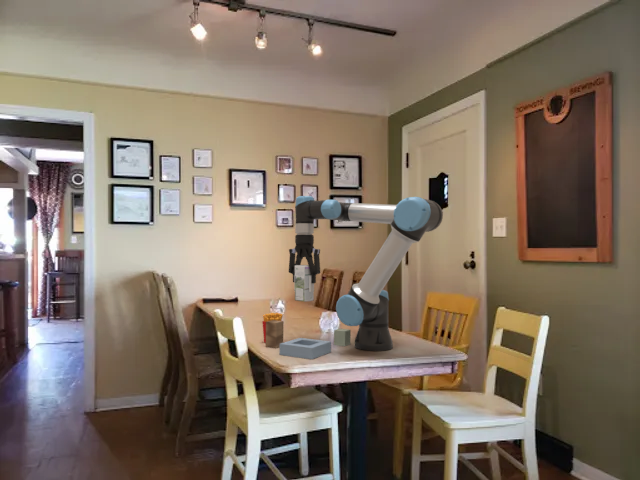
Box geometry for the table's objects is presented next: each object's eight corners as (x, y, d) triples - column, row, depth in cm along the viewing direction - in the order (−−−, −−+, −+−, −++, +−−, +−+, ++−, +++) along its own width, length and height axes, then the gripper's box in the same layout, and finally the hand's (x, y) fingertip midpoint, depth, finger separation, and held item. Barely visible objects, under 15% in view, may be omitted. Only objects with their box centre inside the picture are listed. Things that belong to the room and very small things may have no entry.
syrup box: (314, 300, 196) (314, 265, 196) (304, 301, 192) (304, 265, 192) (304, 299, 200) (304, 264, 200) (294, 300, 196) (294, 265, 196)
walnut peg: (283, 346, 193) (283, 321, 193) (276, 348, 189) (276, 322, 189) (273, 344, 195) (273, 320, 196) (265, 347, 191) (265, 321, 191)
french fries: (264, 343, 197) (265, 314, 197) (261, 342, 201) (261, 313, 201) (283, 341, 201) (283, 313, 202) (279, 340, 205) (280, 311, 205)
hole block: (331, 352, 183) (331, 341, 183) (312, 359, 170) (312, 348, 171) (299, 347, 190) (299, 337, 190) (279, 354, 177) (279, 343, 178)
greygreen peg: (350, 344, 198) (350, 329, 198) (344, 346, 194) (344, 331, 194) (339, 342, 200) (339, 328, 201) (333, 345, 196) (334, 330, 196)
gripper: (329, 234, 195) (329, 291, 194) (289, 234, 204) (289, 289, 204) (320, 233, 188) (320, 293, 188) (279, 234, 198) (279, 290, 198)
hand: (304, 290), depth 196 cm, fingers closed on syrup box, 6 cm apart
